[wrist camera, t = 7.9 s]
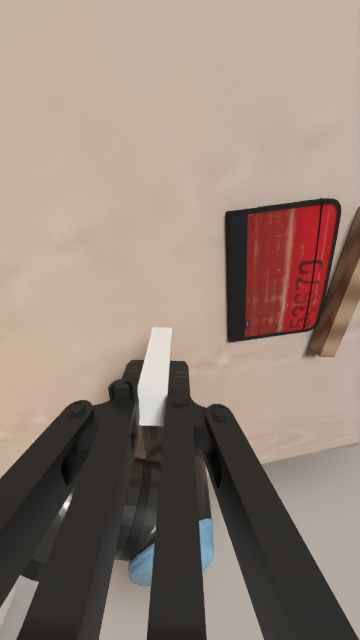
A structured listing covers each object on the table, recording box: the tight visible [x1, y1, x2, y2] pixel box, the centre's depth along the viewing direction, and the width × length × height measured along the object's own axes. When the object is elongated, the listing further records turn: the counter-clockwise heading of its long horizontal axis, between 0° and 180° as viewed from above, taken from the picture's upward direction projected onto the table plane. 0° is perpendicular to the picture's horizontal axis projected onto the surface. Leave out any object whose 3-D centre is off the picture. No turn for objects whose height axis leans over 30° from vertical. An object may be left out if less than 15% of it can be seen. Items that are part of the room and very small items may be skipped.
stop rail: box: [309, 207, 360, 357], centre depth 32 cm, size 23×2×4 cm, turn 178°
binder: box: [226, 198, 341, 342], centre depth 33 cm, size 16×2×21 cm
